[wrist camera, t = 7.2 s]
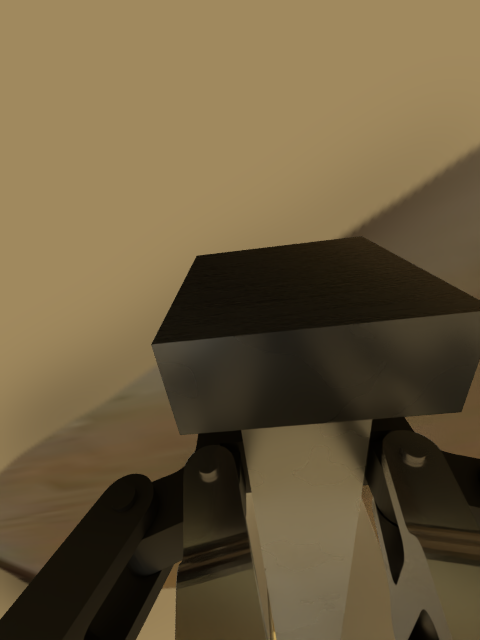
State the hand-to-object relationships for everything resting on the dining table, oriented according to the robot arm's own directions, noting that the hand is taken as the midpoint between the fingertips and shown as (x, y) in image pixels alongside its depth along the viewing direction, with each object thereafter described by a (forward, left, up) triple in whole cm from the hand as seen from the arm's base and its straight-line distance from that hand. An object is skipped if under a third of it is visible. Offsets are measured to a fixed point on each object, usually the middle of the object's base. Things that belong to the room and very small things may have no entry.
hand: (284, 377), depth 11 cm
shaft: (+7, 0, 0) cm, 7 cm away
